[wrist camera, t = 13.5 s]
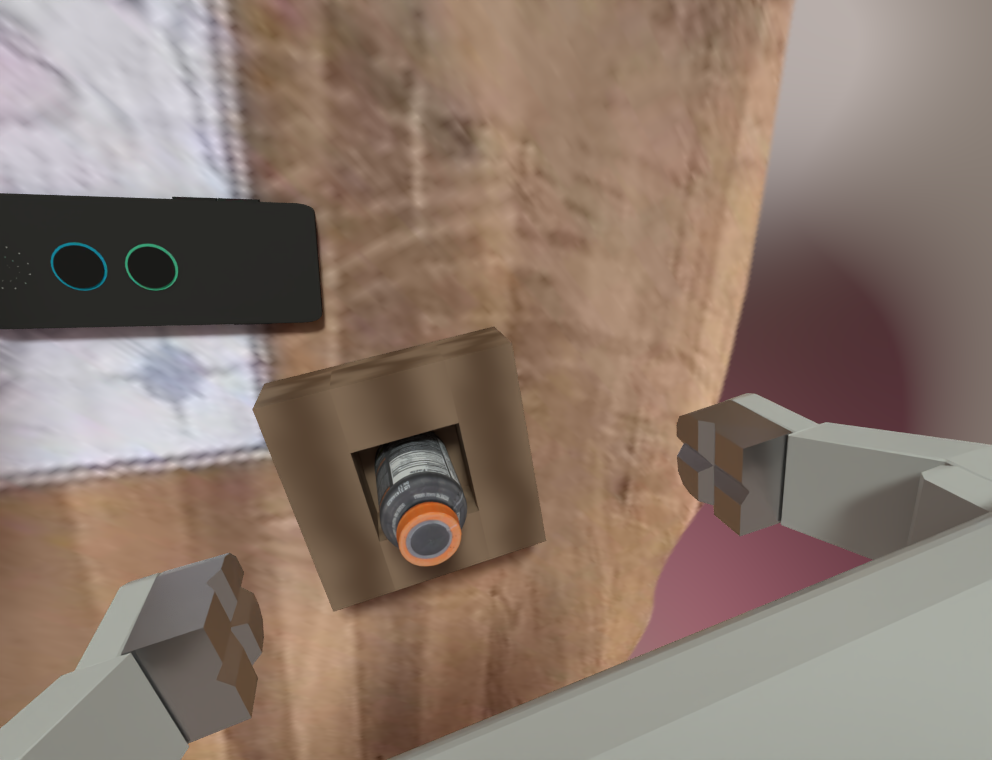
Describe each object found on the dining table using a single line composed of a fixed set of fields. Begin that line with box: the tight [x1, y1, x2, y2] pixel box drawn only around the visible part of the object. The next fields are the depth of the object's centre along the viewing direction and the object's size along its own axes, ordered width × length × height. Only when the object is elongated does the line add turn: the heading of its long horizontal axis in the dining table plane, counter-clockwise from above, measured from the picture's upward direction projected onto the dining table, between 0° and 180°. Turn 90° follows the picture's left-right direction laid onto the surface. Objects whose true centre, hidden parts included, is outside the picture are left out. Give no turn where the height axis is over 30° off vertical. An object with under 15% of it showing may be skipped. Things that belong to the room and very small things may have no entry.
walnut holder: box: [253, 327, 546, 612], centre depth 41 cm, size 18×18×5 cm
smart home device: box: [0, 193, 322, 329], centre depth 33 cm, size 8×2×20 cm
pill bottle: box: [374, 431, 467, 566], centre depth 37 cm, size 6×6×11 cm
